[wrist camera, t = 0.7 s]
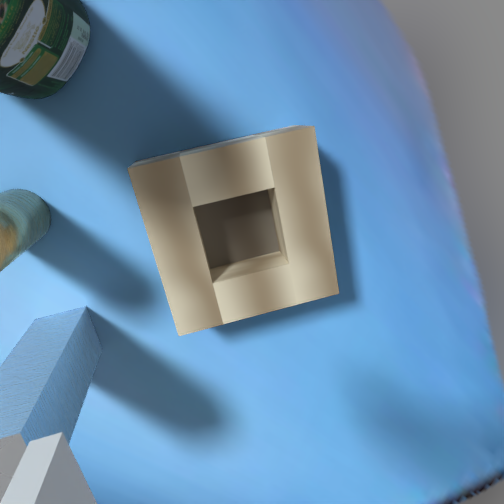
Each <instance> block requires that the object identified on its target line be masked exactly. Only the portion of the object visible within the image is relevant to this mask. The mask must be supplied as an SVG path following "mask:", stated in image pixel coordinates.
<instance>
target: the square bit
mask: <svg viewBox="0 0 504 504" xmlns="http://www.w3.org/2000/svg"><path fill="white" fill-rule="evenodd" d="M101 352H102V346H101V344H100V341H99V338H98V336H97V333H96V331H95V328H94V325H93V323H92V320H91V318H90V315H89V312H88V310H87V307H86V306H85V307H82V308H78V309H74V310H70V311H66V312H62V313H58V314H54V315H50V316H46V317H42V318H38V319H35V320H34V322H33V323H32V324H31V326H30V327H29V328H28V330H27V331H26V332H25V334H24V335H23V336H22V338H21V339H20V340H19V342H18V343H17V344H16V346H15V347H14V348H13V350H12V351H11V352H10V354H9V355H8V356H7V358H6V359H5V360H4V362H3V363H2V364H1V366H0V502H1V500H2V498H3V496H4V494H5V492H6V490H7V488H8V486H9V484H10V482H11V480H12V478H13V475H14V473H15V471H16V469H17V467H18V465H19V463H20V461H21V459H22V457H23V455H24V453H25V450H26V448H27V446H28V444H29V442H30V441H33V440H37V439H40V438H43V437H47V436H50V435H54V434H57V433H60V432H63V434H64V436H65V438H66V440H67V443H68V445H69V443H70V440H71V437H72V434H73V431H74V428H75V425H76V423H77V420H78V417H79V414H80V411H81V408H82V406H83V403H84V400H85V397H86V394H87V391H88V389H89V386H90V383H91V380H92V377H93V374H94V372H95V369H96V366H97V363H98V360H99V357H100V354H101Z"/></svg>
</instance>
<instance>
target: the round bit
mask: <svg viewBox="0 0 504 504" xmlns="http://www.w3.org/2000/svg"><path fill="white" fill-rule="evenodd" d="M50 223H51V215H50V211H49V209H48V207H47V205H46V203H45V202H44V201H43V200H42V199H41V198H40V197H39V196H38V195H36V194H34V193H33V192H30V191H28V190H24V189H11V190H7V191H4V192H2V193H0V272H1V271H2V270H3V269H4V268H5V267H7V266H8V265H9V264H10V263H11V262H13V261H14V260H15V259H16V258H17V257H19V256H20V255H21V254H22V253H24V252H25V251H26V250H27V249H28V248H30V247H31V246H32V245H33V244H34V243H36V242H37V241H38V240H39V239H40V238H42V237H43V236H44V235H45V234H46V233H47V231H48V229H49V227H50Z"/></svg>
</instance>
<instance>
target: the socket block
mask: <svg viewBox="0 0 504 504" xmlns="http://www.w3.org/2000/svg"><path fill="white" fill-rule="evenodd" d="M127 169H128V173H129V176H130V179H131V182H132V186H133V189H134V192H135V195H136V199H137V202H138V205H139V208H140V212H141V215H142V218H143V221H144V225H145V228H146V231H147V234H148V238H149V241H150V244H151V247H152V251H153V254H154V257H155V260H156V264H157V267H158V270H159V273H160V277H161V280H162V283H163V286H164V290H165V293H166V296H167V299H168V303H169V306H170V309H171V312H172V316H173V319H174V322H175V325H176V329H177V332H178V335H179V336H181V335H185V334H189V333H193V332H196V331H200V330H204V329H208V328H211V327H215V326H219V325H223V324H226V323H230V322H234V321H238V320H241V319H245V318H249V317H253V316H256V315H260V314H264V313H268V312H271V311H275V310H279V309H283V308H286V307H290V306H294V305H298V304H302V303H305V302H309V301H313V300H317V299H320V298H324V297H328V296H332V295H335V294H339V288H338V281H337V275H336V268H335V261H334V255H333V248H332V241H331V234H330V228H329V221H328V214H327V208H326V201H325V194H324V187H323V181H322V174H321V167H320V161H319V154H318V147H317V141H316V134H315V127H314V126H300V125H293V126H289V127H284V128H280V129H275V130H271V131H267V132H262V133H258V134H253V135H249V136H245V137H240V138H236V139H231V140H227V141H223V142H218V143H214V144H209V145H205V146H200V147H196V148H192V149H187V150H183V151H178V152H174V153H170V154H165V155H161V156H156V157H152V158H148V159H143V160H139V161H136V162H134V163H133V164H132V165H131V166H130V167H129V168H127Z"/></svg>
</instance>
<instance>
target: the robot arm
mask: <svg viewBox="0 0 504 504" xmlns="http://www.w3.org/2000/svg"><path fill="white" fill-rule="evenodd" d="M0 504H97V503H96V501H95V499H94V496H93V494H92V492H91V490H90V488H89V486H88V484H87V482H86V480H85V478H84V476H83V474H82V472H81V469H80V467H79V465H78V463H77V461H76V459H75V457H74V455H73V453H72V451H71V449H70V447H69V445H68V443H67V440H66V438H65V436H64V434H63V432H60V433H57V434H54V435H50V436H47V437H43V438H40V439H37V440H33V441H30V442H29V444H28V446H27V448H26V450H25V453H24V455H23V457H22V459H21V461H20V463H19V465H18V467H17V469H16V471H15V473H14V475H13V478H12V480H11V482H10V484H9V486H8V488H7V490H6V492H5V494H4V496H3V498H2V500H1V502H0Z"/></svg>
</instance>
